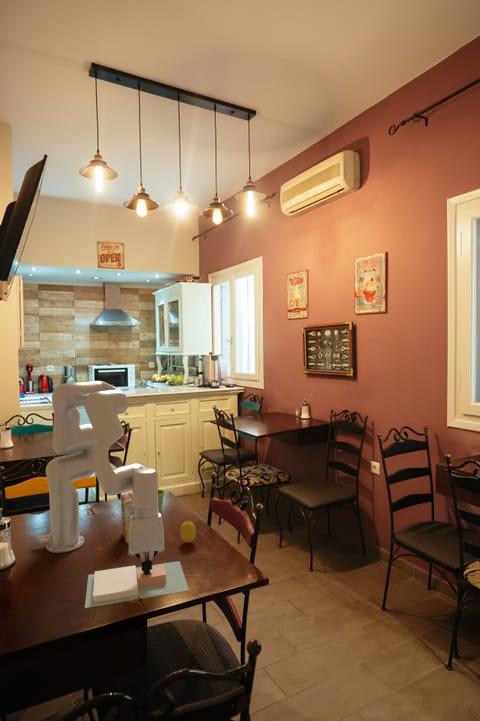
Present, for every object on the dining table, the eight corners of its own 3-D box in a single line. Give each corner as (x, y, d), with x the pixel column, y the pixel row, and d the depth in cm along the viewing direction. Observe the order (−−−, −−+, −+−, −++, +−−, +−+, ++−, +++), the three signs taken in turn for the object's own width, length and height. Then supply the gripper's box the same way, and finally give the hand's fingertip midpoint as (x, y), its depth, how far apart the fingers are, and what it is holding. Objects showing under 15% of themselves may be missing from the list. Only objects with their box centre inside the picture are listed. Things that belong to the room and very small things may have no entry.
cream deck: (93, 602, 118) (92, 596, 118) (95, 576, 132) (94, 571, 132) (138, 594, 122) (138, 588, 121) (135, 570, 135) (135, 565, 135)
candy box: (121, 534, 163) (120, 493, 163) (133, 532, 165) (132, 492, 164) (125, 543, 155) (124, 501, 154) (137, 541, 156) (136, 499, 156)
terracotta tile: (138, 587, 125) (138, 579, 125) (137, 577, 131) (136, 569, 131) (166, 582, 128) (166, 574, 128) (163, 573, 133) (163, 564, 133)
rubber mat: (84, 609, 116) (84, 608, 116) (88, 575, 133) (88, 574, 133) (188, 591, 124) (188, 590, 124) (179, 561, 141) (179, 561, 141)
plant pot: (154, 518, 177) (153, 497, 177) (138, 514, 182) (137, 494, 182) (170, 511, 185) (169, 491, 185) (153, 507, 190) (153, 487, 190)
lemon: (198, 541, 156) (198, 519, 156) (190, 547, 151) (190, 524, 151) (185, 538, 158) (185, 516, 158) (177, 544, 153) (177, 522, 153)
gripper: (119, 519, 123) (121, 582, 123) (172, 512, 127) (173, 574, 127) (119, 509, 130) (120, 570, 130) (169, 504, 134) (170, 562, 135)
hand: (146, 572), depth 129 cm, fingers closed
